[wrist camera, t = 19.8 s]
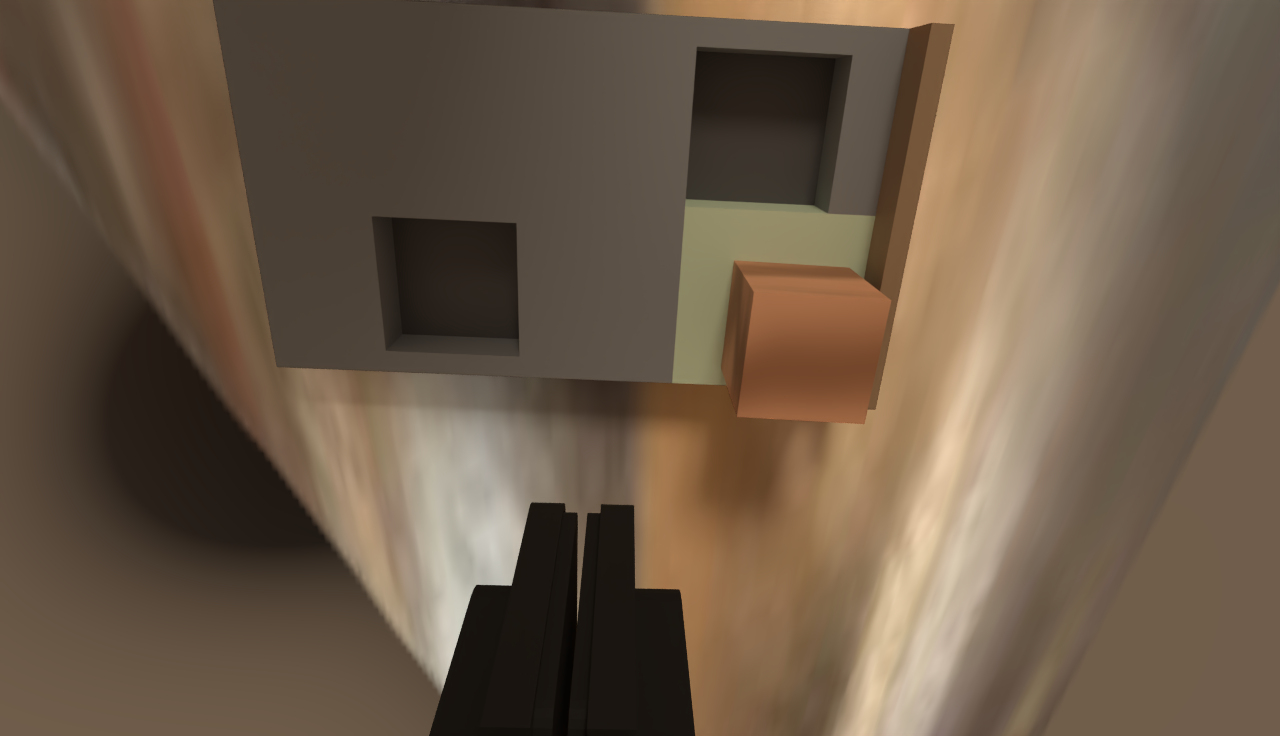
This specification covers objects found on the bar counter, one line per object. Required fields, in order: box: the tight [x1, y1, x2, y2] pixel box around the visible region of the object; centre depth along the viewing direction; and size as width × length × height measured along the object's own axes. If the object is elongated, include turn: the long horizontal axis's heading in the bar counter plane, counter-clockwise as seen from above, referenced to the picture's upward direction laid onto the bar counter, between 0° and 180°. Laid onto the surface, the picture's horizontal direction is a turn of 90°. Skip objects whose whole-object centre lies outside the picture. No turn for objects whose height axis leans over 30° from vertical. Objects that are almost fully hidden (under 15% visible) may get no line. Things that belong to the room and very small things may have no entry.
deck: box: [213, 0, 955, 410], centre depth 27 cm, size 15×27×4 cm, turn 87°
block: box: [721, 260, 891, 424], centre depth 27 cm, size 5×5×5 cm
